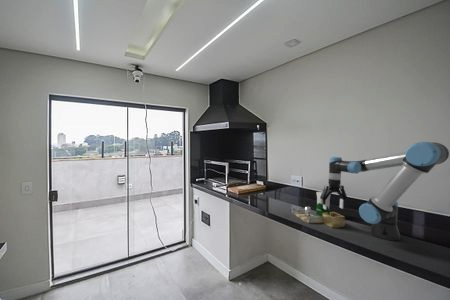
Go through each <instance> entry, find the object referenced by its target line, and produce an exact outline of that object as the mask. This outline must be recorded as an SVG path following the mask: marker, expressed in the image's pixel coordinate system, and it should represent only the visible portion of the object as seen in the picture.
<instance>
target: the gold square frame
mask: <svg viewBox="0 0 450 300" xmlns="http://www.w3.org/2000/svg"><path fill="white" fill-rule="evenodd" d="M328 214H330V215H328ZM321 217H322V220H323V222H322V223H323V224H325V225H326V226H328V227H330V228H332V229H333V228H344V227H346V226H345V223H346V217H345V216H344V215H341V214H340V213H338V212H335V211H329V213H328V212H326V213H323V214H322V216H321Z"/></svg>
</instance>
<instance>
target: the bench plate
mask: <svg viewBox="0 0 450 300" xmlns="http://www.w3.org/2000/svg"><path fill="white" fill-rule="evenodd" d="M293 215H294V216H296V217H297V219H300V220H302V221H304V222H305V223H306V224H318V223H319V224H320V223H323V220H322V221H308V220H307V217H305V213H303V214H296V213H295V212H293ZM310 216H315V215H314V214H311V213H310Z"/></svg>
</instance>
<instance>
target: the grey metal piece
mask: <svg viewBox="0 0 450 300" xmlns="http://www.w3.org/2000/svg"><path fill="white" fill-rule="evenodd" d="M311 210H312V209H311V206H305V207H304V208H299V209H294V213H296V214H303V213H305V217H307V220H308V221H322V216H320V215H314V216H310V214H311Z"/></svg>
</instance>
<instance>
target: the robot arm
mask: <svg viewBox="0 0 450 300" xmlns="http://www.w3.org/2000/svg"><path fill="white" fill-rule="evenodd" d="M449 157H450V150H449V149H448V147H446V146H445V145H444V144H443V143H439V142H430V141H421V142H417V143H415V142H414V143H413V144H411V145H410V146H409V147H408V148H407V149H406V151H403V152H400V153H394V154H389V155H384V156H379V157H378V156H377V157H373V158H368V159H362V160H352V161H351V160H343V158H342V157H339V156H331V157H330V158H329V164H328V165H329V167H328V168H329V169H328V181H327V182H328V185H326V184H325V185H324V188H323V189H322V191H321V192H322V194H321V196H320V198H321V199H322V200H323V209H325V210H327V200H326V199H327V198H328V196H329V195H330V194H332V193H337V194H338V196H339V208H340V209H342V210H344V205H345V200H347V199H348V195H347V193H346V190H345V187H344V185H341V182H342V181H341V179H342V172H343V173H347V174H348V173H349V174H355V175H356V174H359V173H362V172H363V173H364V172H369V171H375V170H376V171H377V170H383V169H389V168H396V167H397V168H398V167H399V168H398V170H397V171H396V172H395V173H394V174H393V176H392V177H391V178H390V179H389V181H387V182H386V184H385V185H384V186H383V188H382V189H381V190H380V191H379V192H378V193H377V195H376V196H375V195H373V196H371V197H370V198H369V200H368V201H367V202H365V203H362V204H361V205H360V206H359V208H358V213H359V216H360V217H361V219H362V220H363V221H364V222H366V223H368V224H371V225H370V228H369V233H370V234H371V235H372V236H374V237H377V238H379V239H381V240H386V241H399V240H401V234H400V230H399V228H398V214H399V211H398V210H399V205H398V200H399V199H400V198H401V197H402V196H404V194H405V193H406V192H407V190H409V188H410V187H412V186H413V184H415V182H416V181H417V180H418V179H419V178H420V177H421V176H422V175H424V174H429V172H431V170H432V169H433V168H435V166H437V165H440V164H442V163H444V162H446V161H447V160H448V159H449Z"/></svg>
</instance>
